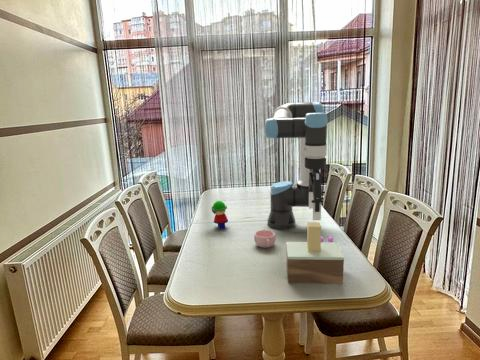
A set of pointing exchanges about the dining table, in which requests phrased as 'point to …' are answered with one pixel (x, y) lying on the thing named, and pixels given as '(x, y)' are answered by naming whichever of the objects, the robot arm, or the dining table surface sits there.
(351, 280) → the dining table surface
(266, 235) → the mug
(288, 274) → the box
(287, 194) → the robot arm
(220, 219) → the toy
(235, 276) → the dining table surface
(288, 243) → the lid
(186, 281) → the dining table surface
